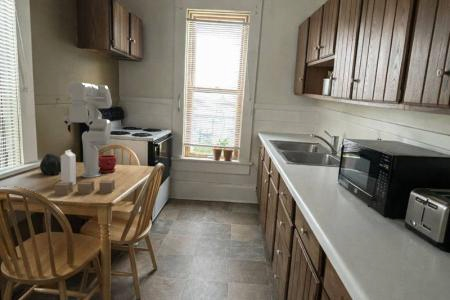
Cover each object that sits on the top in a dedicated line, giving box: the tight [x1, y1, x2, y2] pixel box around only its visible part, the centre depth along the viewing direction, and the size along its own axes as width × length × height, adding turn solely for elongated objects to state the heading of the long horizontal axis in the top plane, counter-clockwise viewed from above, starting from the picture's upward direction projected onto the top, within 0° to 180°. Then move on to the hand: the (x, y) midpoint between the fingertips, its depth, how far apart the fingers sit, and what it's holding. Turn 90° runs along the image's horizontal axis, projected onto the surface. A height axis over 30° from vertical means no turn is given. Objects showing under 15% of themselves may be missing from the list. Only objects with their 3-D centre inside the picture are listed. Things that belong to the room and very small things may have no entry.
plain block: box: [77, 179, 95, 195], centre depth 178 cm, size 7×7×6 cm
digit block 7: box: [98, 179, 116, 193], centre depth 183 cm, size 7×7×6 cm
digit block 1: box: [54, 181, 74, 196], centre depth 173 cm, size 7×7×6 cm
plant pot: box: [99, 154, 117, 174], centre depth 227 cm, size 13×13×12 cm
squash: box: [39, 153, 61, 176], centre depth 212 cm, size 14×15×15 cm
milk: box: [60, 149, 77, 186], centre depth 188 cm, size 6×6×22 cm
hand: (78, 132), depth 182 cm, fingers open, 9 cm apart
